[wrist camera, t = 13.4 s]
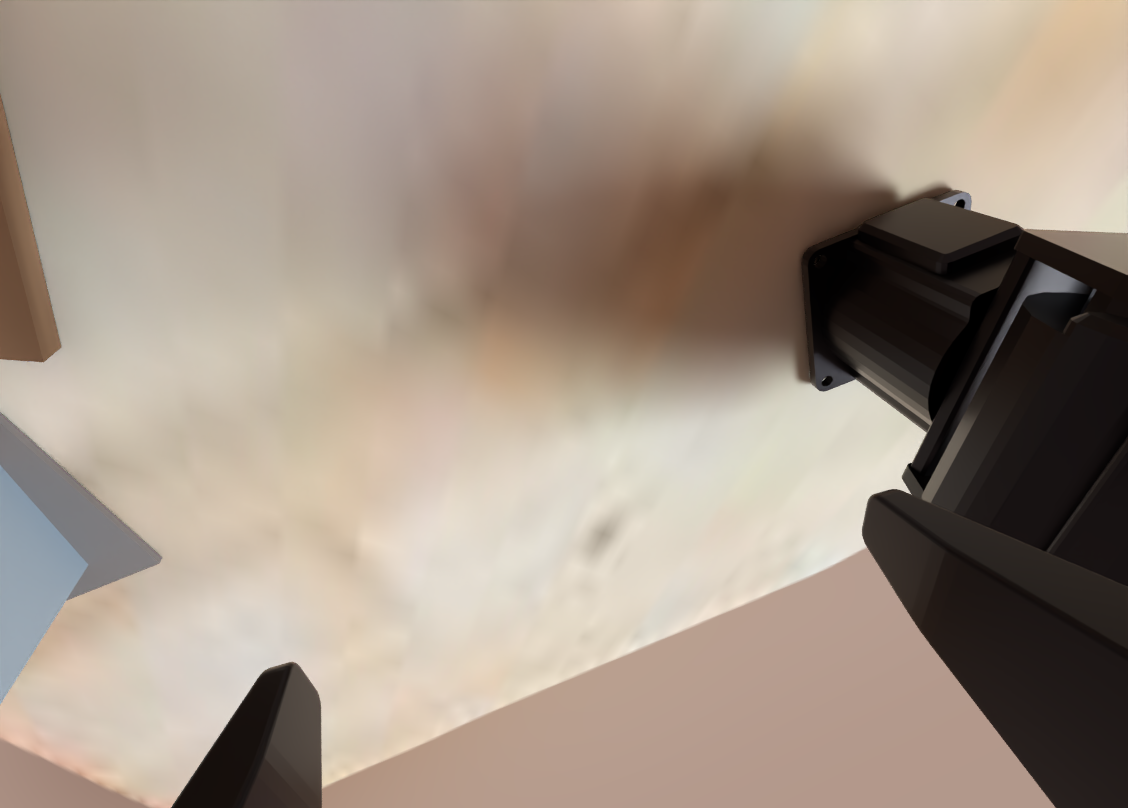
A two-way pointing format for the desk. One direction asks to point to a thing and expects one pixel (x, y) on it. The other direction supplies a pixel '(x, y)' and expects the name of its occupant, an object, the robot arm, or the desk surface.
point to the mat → (74, 513)
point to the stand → (21, 270)
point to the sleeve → (29, 578)
